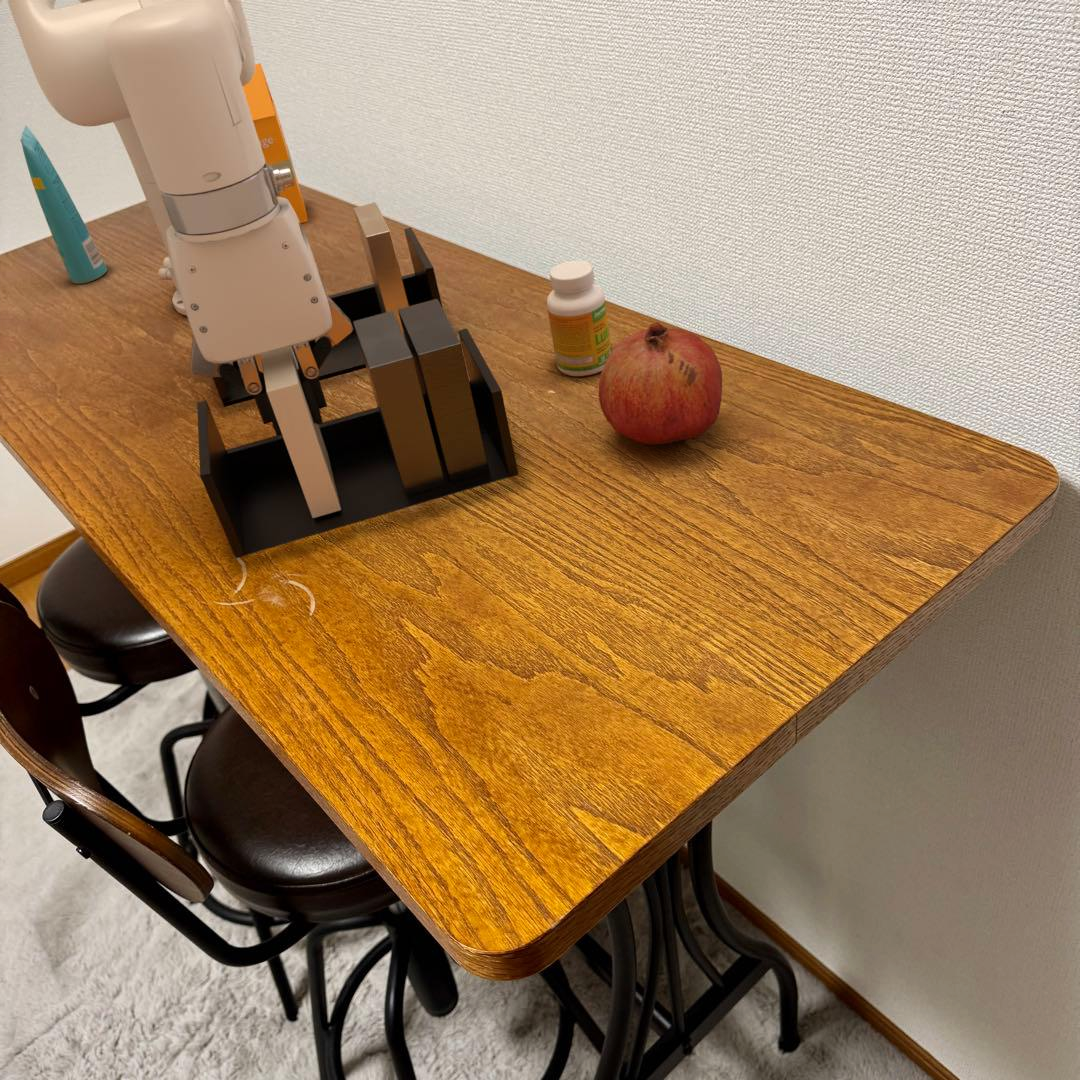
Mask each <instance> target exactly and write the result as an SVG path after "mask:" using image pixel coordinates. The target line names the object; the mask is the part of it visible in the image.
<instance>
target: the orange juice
mask: <svg viewBox="0 0 1080 1080" xmlns="http://www.w3.org/2000/svg"><path fill="white" fill-rule="evenodd" d="M242 87H243V91H244V94H245V97H246V100H247V103H248V107H249V110H250V113H251V117H252V120H253V123H254V126H255V129H256V133H257V136H258V139H259V142H260V145H261V148H262V152H263V155H264V158H265V161H266V164H267V165H270V164H271V166H272V168H275V167H278V169H279V168H283V167H287V166H289V169H290V172H291V175H292V179H293V182H294V186H290V187H286V188H284V189H285V190H282V191H279V192H280V196H277V197H282V198H286V199H288V201H289V202H290V204H291V206H292V208H293V210H294V211H295V213H296V215H297V217H298V219H299V221H300V224H305V223H307V222H308V221H309V219H308V215H307V209H306V204H305V200H304V198H303V194H302V192H301V188H300V184H299V180H298V177H297V174H296V171H295V167H294V163H293V160H292V155H291V152H290V149H289V147H288V144H287V141H286V138H285V137H286V136H285V135H284V131H283V126H282V123H281V121H280V118H279V114H278V111H277V107H276V104H275V101H274V99H273V96H272V93H271V91H270V87H269V84H268V81H267V79H266V76H265V73H264V69H263V66H262V64H261V62H259V63H255V72H254V76H253V78H252V79H251V80H250V82H248V83H247V84H246V85H244V86H242Z"/></svg>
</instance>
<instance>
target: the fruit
mask: <svg viewBox="0 0 1080 1080" xmlns="http://www.w3.org/2000/svg"><path fill="white" fill-rule="evenodd" d="M598 382H599V383H598V402H599V405H600V409H601V412H602V413H603V415H604V417H605V419H606V421H607V423H609V424H610V426H611V427H612V428H613V429H614V430H615V431H616V432H618V433H619V434H621V435H623V436H624V437H627V438H628V439H631V440H633V441H635V442H638V443H641V444H647V445H663V444H670V443H674V442H679V441H684V440H688V439H692V438H695V437H698V436H700V435H703V434H704V433H706V432H707V431H708V430H709V429H710V428H711V427H712V426H713V425H714V424H715V423H716V422H717V420H718V418H719V415H720V411H721V404H722V394H723V371H722V367H721V365H720V362H719V359H718V357H717V355H716V353H715V351H714V349H713V348H712V347H711V346H710V345H709V344H707V343H706V341H704V340H703V339H702V338H701V337H699V336H697V335H696V334H694V333H692V332H689V331H687V330H684V329H679V328H668V327H666V326H664V325H663V324H661V323H660V322H659V321H656V322H653V323H650V324H649V327H648V328H646V329H645V328H644V329H640V330H639V331H637V332H635V333H633V334H632V335H630V336H627V337H625V338H623V339H621V340H620V341H618V343H617V344H616V345H615V346H614V347H612V348H611V352H610V354H609V357H608V359H607V361H606V363H605V365H604V367H603V369H602V371H601V373H600V377H599V381H598Z"/></svg>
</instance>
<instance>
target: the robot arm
mask: <svg viewBox="0 0 1080 1080" xmlns="http://www.w3.org/2000/svg"><path fill="white" fill-rule="evenodd" d="M78 1H79V3H76V4H72V5H69V6H68V5H67V6H64V7H61V8H57V9H55V3H56V2H57V0H7V4H8V7H9V10H10V12H11V15H12V18H13V21H14V23H15V26H16V28H17V31H18V35H19V36H20V39H21V43H22V45H23V47H24V50H25V53H26V56H27V59H28V62H29V64H30V66H31V69H32V71H33V73H34V76H35V78H36V81H37V83H38V85H39V87H40V90H41V91H42V93H43V95H44V96H45V98H46V100H47V101H48V103H49V104H50V106H51V107H52V109H54V111H56V112H57V114H58V115H59V116H61V117H62V118H63V119H64V120H66V121H68V122H69V123H71V124H74V125H77V126H80V127H99V126H104V125H107V124H111V123H113V125H114V127H115V128H116V130H117V133H118V135H119V137H120V139H121V141H122V143H123V146H124V148H125V150H126V153H127V155H128V157H129V160H130V162H131V165H132V167H133V170H134V172H135V175H136V178H137V180H138V182H139V185H140V187H141V189H142V192H143V195H144V198H145V201H146V203H147V205H148V209H149V210H150V213H151V215H152V218H153V221H154V223H155V226H156V228H157V231H158V233H159V236H160V238H161V241H162V243H163V246H164V248H165V251H166V253H167V256H166V257H165V258H164V259H163V261H162V266H163V267H161V268H159V270H158V272H157V274H158V277H159V279H161V280H164V281H173V284H174V287H175V291H174V293H173V295H172V298H171V302H172V305H173V307H174V309H175V310H176V312H177V313H179V314H180V315H182V316H186V317H187V320H188V322H189V325H190V329H191V331H192V340H191V341H192V342H191V351H190V359H189V367H190V368H189V369H190V372H191V373H192V374H193V375H195V376H200V377H201V376H202V377H210V378H212V377H216V378H217V377H222V378H223V379H225V380H227V381H229V382H231V383H234V384H236V385H238V386H240V387H242V388H245V389H246V390H247V392H248V393H249V394H252V395H253V396H254V399H253V400H254V401H255V404H256V407H257V410H258V412H259V415H260V417H261V420H262V423H263V425H267V424H270V423H272V427H273V430H274V432H275V436H279V435H282V433H281V430H280V427H279V425H278V422H277V419H276V416H275V414H274V411H273V408H272V405H271V403H270V400H269V397H268V394H267V391H266V385H265V379H264V373H263V372H260V371H259V368H258V365H257V362H256V358H255V356H257V355H261V354H265V353H268V352H272V351H276V350H279V349H283V348H287V347H290V346H293V348H294V351H295V353H296V356H297V358H298V361H299V362H298V368H299V369H297V370H298V374H299V379H300V383H301V387H302V390H303V393H304V396H305V398H306V401H307V404H308V407H309V410H310V413H311V416H312V419H313V422H314V424H315V423H316V424H317V425H318V424H322V423H323V422H324V421H323V418H322V414H321V410H320V409H324V408H327V407H328V405H327V400H326V397H325V394H324V391H323V388H322V385H321V381H319V379H318V375H319V369H320V367H321V366H322V364H323V362H324V361H325V359H326V358H327V356H328V354H329V353H330V351H331V349H332V347H333V346H335V345H337V344H338V343H340V342H341V341H342V340H343V339H344V338H346V337H347V336H348V335H349V334H351V333H352V331H353V327H352V324H351V321H350V319H349V318H348V317H347V316H346V315H345V314H344V313H343V311H342V310H341V309H340V308H339V307H338V306H337V305H336V304H335V303H334V302H333V301H332V300H331V298H330V297H329V296H330V295H328V294H327V292H326V288H325V285H324V282H323V280H322V275H321V273H320V271H319V267H318V265H317V263H316V260H315V257H314V256H315V255H314V254H313V251H312V248H311V246H310V243H309V240H308V237H307V236H306V233H305V231H304V228H303V226H302V223H300V221H299V219H298V217H297V215H296V213H295V211H294V210H293V208H292V206H291V204H290V202H289V201H288V199H286V198H282V197H277V196H280V192H279V191H282V190H285V189H284V188H286V187H290V186H294V182H293V179H292V175H291V172H290V169H289V166H287V167H283V168H279V169H278V167H275V168H272V166H271V164H270V165H267V164H266V161H265V158H264V155H263V152H262V148H261V145H260V142H259V139H258V136H257V133H256V129H255V126H254V123H253V120H252V117H251V113H250V110H249V107H248V103H247V100H246V97H245V94H244V91H243V87H242V86H244V85H246V84H247V83H248V82H250V80H251V79H252V78H253V76H254V72H255V64H256V59H255V52H254V47H253V42H252V37H251V33H250V31H249V27H248V24H247V19H246V15H245V11H244V8H243V5H242V1H241V0H78ZM310 341H311V342H310Z"/></svg>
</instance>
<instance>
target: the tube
mask: <svg viewBox="0 0 1080 1080" xmlns="http://www.w3.org/2000/svg"><path fill="white" fill-rule="evenodd" d="M19 141H20V143H21V148H22V152H23V155H24V159H25V163H26V166H27V169H28V172H29V176H30V179H31V182H32V186H33V189H34V191H35V194H36V196H37V200H38V202H39V205H40V208H41V210H42V213H43V215H44V218H45V221H46V223H47V226H48V228H49V232H50V233H51V237H52V238H53V241H54V244H55V246H56V248H57V251H58V253H59V255H60V256H59V257H60V258H61V261H62V263H63V266H64V269H65V270H66V273H67V274H68V277H69V280H70V281H71V282H72V283H74V284H86V283H89V282H93V281H95V280H97V279H99V278H101V277H102V276H104V275H105V274H106V273H107V272H108V268H107V266H106V264H105V261H104V260H103V258H102V255H101V254H100V252H99V250H98V247H97V246H96V243H95V242H94V240H93V238H92V236H91V234H90V232H89V230H88V228H87V226H86V224H85V222H84V220H83V218H82V216H81V214H80V212H79V210H78V209H77V206H76V204H75V203H74V201H73V199H72V197H71V195H70V193H69V191H68V190H67V188H66V186H65V184H64V182H63V181H62V179H61V177H60V175H59V173H58V171H57V169H56V168H55V166H54V165H53V163H52V161H51V159H50V158H49V156H48V154H47V153H46V151H45V149H44V148H43V146H42V145H41V143H40V142H39V140H38V139H37V137H36V136H35V135H34V132H32V131H31V129H30V128H29V127H28V126H27V125H24V127H23V129H22V133H21V135H20V139H19Z"/></svg>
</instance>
